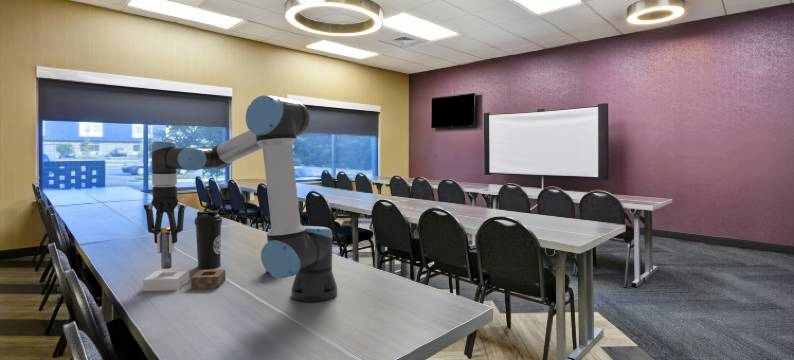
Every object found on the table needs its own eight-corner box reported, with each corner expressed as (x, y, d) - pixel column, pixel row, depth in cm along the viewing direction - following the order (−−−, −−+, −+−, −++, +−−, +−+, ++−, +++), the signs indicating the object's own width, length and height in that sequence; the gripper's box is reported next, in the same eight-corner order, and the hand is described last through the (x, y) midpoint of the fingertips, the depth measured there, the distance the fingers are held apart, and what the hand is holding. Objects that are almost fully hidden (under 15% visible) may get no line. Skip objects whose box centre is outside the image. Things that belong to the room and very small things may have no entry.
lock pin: (173, 266, 150) (172, 227, 149) (169, 268, 146) (168, 229, 145) (163, 266, 149) (162, 227, 148) (159, 269, 146) (158, 229, 145)
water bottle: (216, 269, 168) (215, 212, 166) (190, 269, 168) (189, 212, 166) (226, 263, 178) (225, 209, 176) (202, 262, 178) (201, 208, 176)
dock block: (189, 280, 154) (189, 269, 154) (177, 290, 143) (177, 278, 143) (157, 280, 153) (157, 270, 153) (143, 291, 142) (143, 279, 142)
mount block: (225, 280, 155) (225, 269, 155) (218, 288, 146) (218, 276, 146) (199, 280, 154) (199, 270, 154) (191, 288, 145) (191, 277, 145)
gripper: (193, 185, 150) (194, 249, 152) (144, 184, 148) (146, 249, 150) (185, 187, 143) (186, 254, 145) (134, 186, 141) (136, 255, 143)
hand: (166, 252), depth 147 cm, fingers closed on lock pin, 3 cm apart
